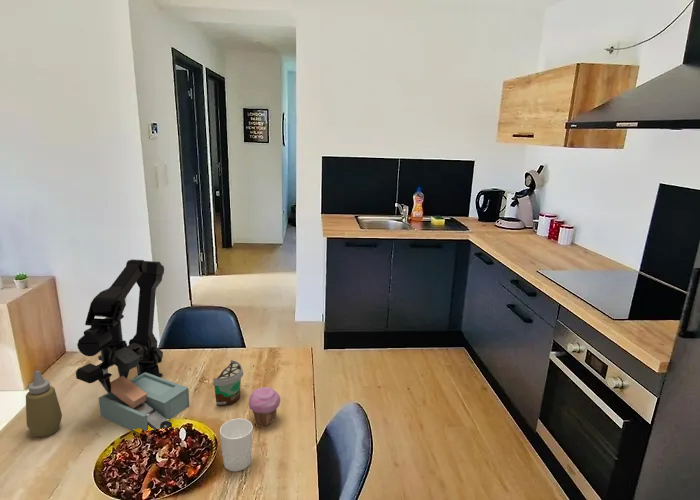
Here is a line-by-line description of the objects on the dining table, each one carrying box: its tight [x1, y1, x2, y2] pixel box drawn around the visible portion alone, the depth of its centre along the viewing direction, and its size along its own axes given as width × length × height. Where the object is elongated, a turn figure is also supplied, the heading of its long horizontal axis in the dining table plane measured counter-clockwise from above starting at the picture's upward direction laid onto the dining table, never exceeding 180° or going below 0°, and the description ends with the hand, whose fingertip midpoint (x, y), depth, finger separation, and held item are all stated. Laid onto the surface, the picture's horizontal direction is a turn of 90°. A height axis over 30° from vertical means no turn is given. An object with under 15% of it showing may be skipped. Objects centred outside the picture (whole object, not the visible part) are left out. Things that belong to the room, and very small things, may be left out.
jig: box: [98, 372, 190, 431], centre depth 132 cm, size 18×16×6 cm
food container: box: [212, 359, 244, 407], centre depth 139 cm, size 12×6×10 cm, turn 168°
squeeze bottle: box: [25, 369, 63, 438], centre depth 121 cm, size 8×8×18 cm
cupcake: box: [248, 386, 281, 427], centre depth 130 cm, size 9×9×10 cm
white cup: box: [219, 418, 254, 472], centre depth 113 cm, size 8×8×10 cm
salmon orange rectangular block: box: [110, 376, 147, 408], centre depth 128 cm, size 10×4×3 cm, turn 64°
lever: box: [115, 396, 173, 431], centre depth 127 cm, size 19×4×2 cm, turn 65°
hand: (116, 388), depth 130 cm, fingers closed on salmon orange rectangular block, 4 cm apart
